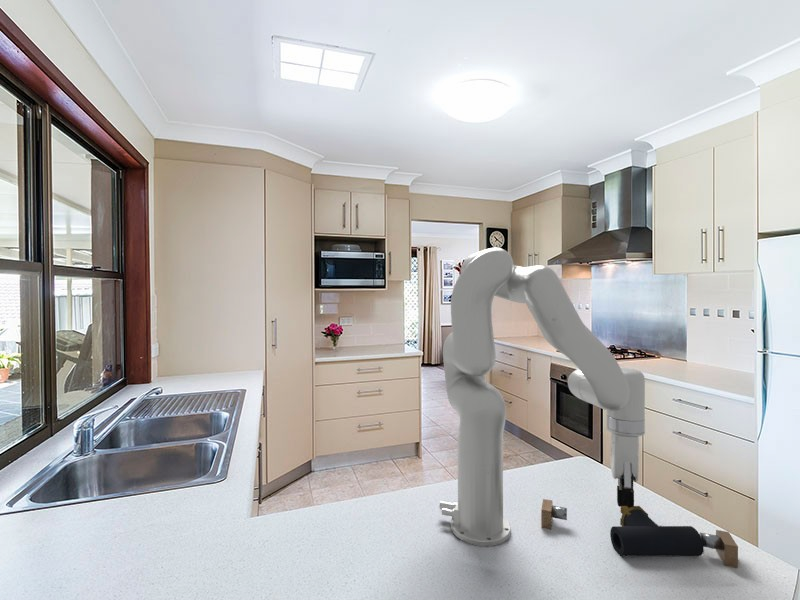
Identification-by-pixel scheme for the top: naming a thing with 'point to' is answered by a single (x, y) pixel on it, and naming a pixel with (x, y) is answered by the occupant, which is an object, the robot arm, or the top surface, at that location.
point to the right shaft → (722, 547)
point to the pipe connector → (653, 536)
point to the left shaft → (551, 514)
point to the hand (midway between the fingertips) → (625, 505)
